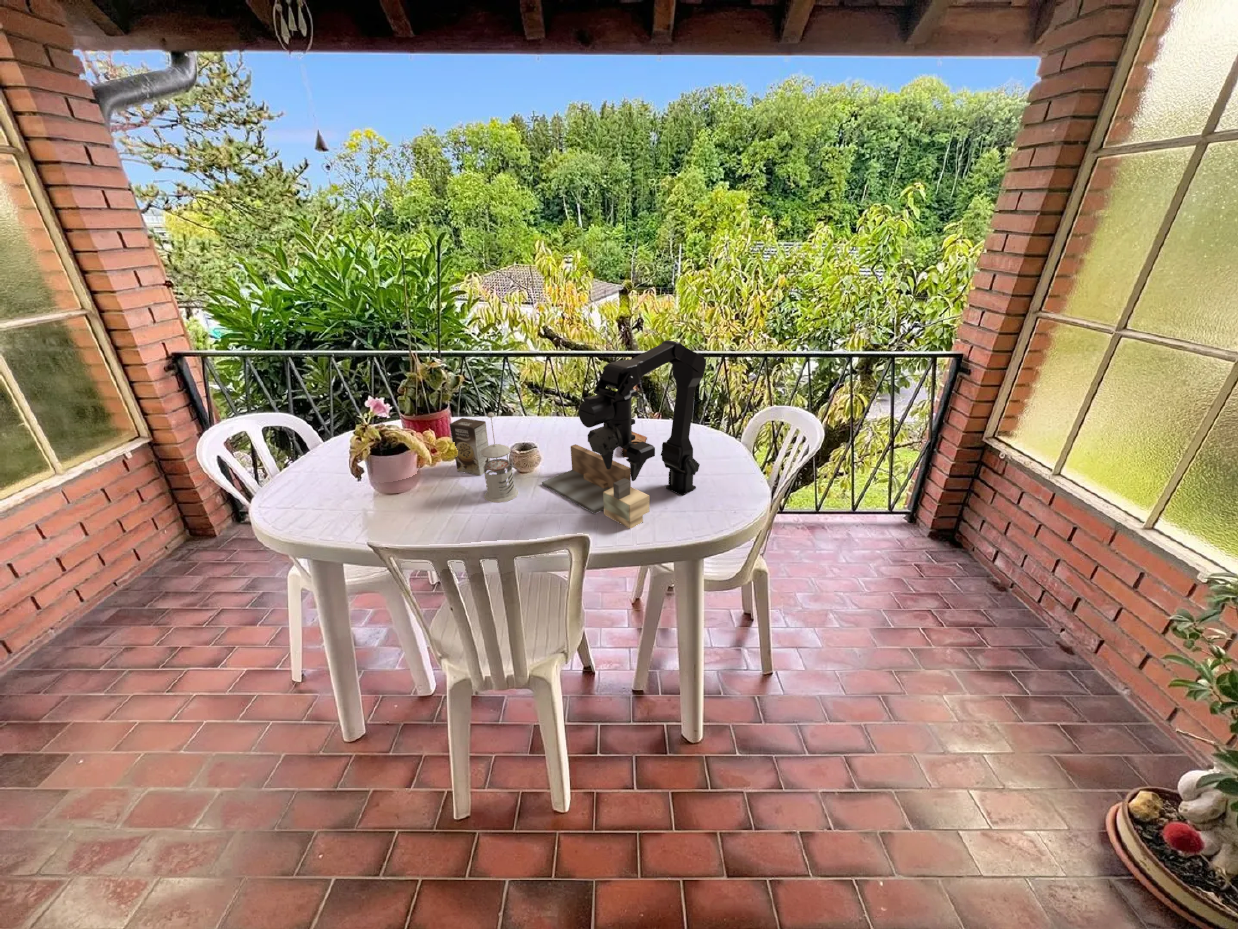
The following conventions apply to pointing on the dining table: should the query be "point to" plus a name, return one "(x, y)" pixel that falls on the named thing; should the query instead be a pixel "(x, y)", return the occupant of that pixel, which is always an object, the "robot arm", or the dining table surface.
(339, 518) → the dining table surface
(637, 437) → the sunglasses case
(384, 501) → the dining table surface
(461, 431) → the coffee box
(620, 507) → the wooden block
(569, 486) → the wall board
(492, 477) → the french press
